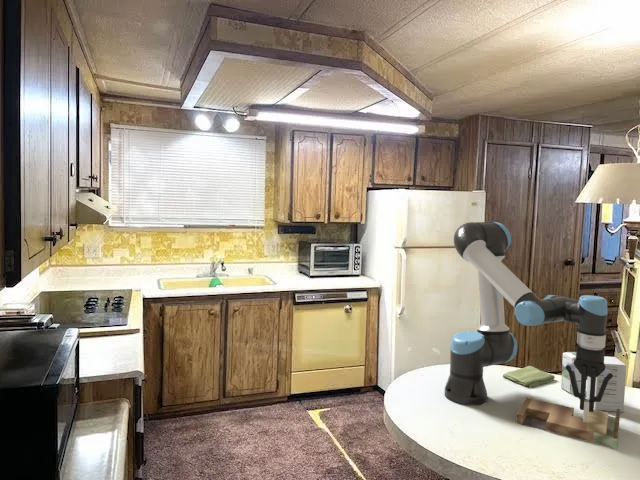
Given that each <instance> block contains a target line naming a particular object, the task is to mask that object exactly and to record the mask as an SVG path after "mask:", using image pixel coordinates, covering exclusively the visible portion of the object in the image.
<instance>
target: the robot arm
mask: <svg viewBox="0 0 640 480" xmlns="http://www.w3.org/2000/svg"><path fill="white" fill-rule="evenodd" d="M511 242H512V237H511V233H510V231H509V229H508V228H507V227H506V226H505V225H504V224H503V223H501V222H497V221H482V222H481V221H479V222H478V221H477V222H475V221H474V222H473V221H471V222H465V223H463V224H461V225H459V227H458V228H457V229H456V231H455V232H454V235H453V245H454V248H455V250H456V252H457V253H458V255H459V256H460V257H461V258H462V259H463V260H464V261H465V262H470V263H471V264H472V265H473V266H474V267H475V269H476V270H477V275H478V291H479V293H478V294H479V310H480V311H479V312H480V324H479V325H478V327H477V329H476V331H471V330H469V331H466V330H465V331H460V332H458V333H455V334H454V335H453V336H452V337H451V341H450V347H449V350H450V362H449V363H450V364H449V365H450V366H449V376H448V379H447V382H446V384H445V386H444V396H445V397H446V399H448V400H450V401H452V402H454V403H457V404H461V405H469V406H477V405H482V404H484V403H486V402H487V400H488V392H487V391H488V390H487V388H486V384H485V381H484V368H485V367H489V366H496V365H502V364H505V363H508V362H511V361H512V360H513V359H514V358H515V356H516V355H517V352H518V342H517V338H515V337H514V334H513V333H511V332H510V327H509V326H508V325H507V324H506V319H505V305H504V304H505V301H504V299H505V300H506V301H507V302H508V303H509V304H510V305H511V306H512V307H513V308H514V316H515V317H516V320H517V322H519V324H521V325H522V326H525V327H526V326H527V327H530V326H531V327H532V326H540V325H544V324H551V323H556V322H557V323H558V322H567V323H571V324H573V325H574V324H575V325H577V334H576V335H577V337H576V344H577V345H576V349H575V352H576V359H575V360H574V363H571V364H567V365H566V369H567V371H568V372H569V375H570V380H571V385H572V389H573V394H572V395H573V397H575V398H577V399H579V410H581V411H583V415H582V416H583V417H582V418H583V422H586V423H587V422H588V413H589V412H593V410H595V409H594V402H600V401H601V399H602V396H603V394H604V391H605V389H606V386H607V383H608V381H609V380H610V379H611V378H612V377H613V372H611V371H609V370H607V369H606V366H605V364H604V356H605V352H606V350H605V349H604V348H606V340H607V339H606V337H607V334H606V332H607V330H606V329H607V320H608V319H607V318H608V313H609V312H608V300H607V299H606V298H604V297H602V296H598V295H591V294H590V295H589V294H587V295H586V294H585V295H580V297H579V299H574V298H570V297H565V296H561V295H556V294H555V295H554V294H548V295H546V296H545V297H544V298H543V299H540V298H539V297H538V296H537V295H536V294H535V293H534V292H533V291H532V290H531V289H530V288H529V287H527V285H526V284H525V283H524V282H522V280H521V279H520V278H518V276H516V275H515V274H514V273H513V272H512V271H511V269H510V268H508V267H507V265H505V264H504V262H502V261H503V259H505V258H506V251H507V250H508V249H509V246H510V245H511ZM575 367H576V368H577V370H578V371H579V373H580V374H581V393H579V390H578V386H577V381H576V377H575V372H574V370H575ZM602 372H604V380H603V382H602V385H601V387H600V390H599V392H598V395H597V396H595V384H596V377H598V376H599V375H600V374H601V373H602ZM588 376H589V377H591V383H590V398H589V399H586V395H587V378H588Z"/></svg>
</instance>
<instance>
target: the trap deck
mask: <svg viewBox="0 0 640 480" xmlns="http://www.w3.org/2000/svg"><path fill="white" fill-rule="evenodd" d="M574 415H575V408H574V407H571V406H566V405H563V404H557V403H554V402H549V401H544V400H541V399H537V398H536V399H535V398H531V397H527V396H526V397H525V399H524V401H523V402H522V404H521V405H520V407H519V409H518V411H517V412H516V414H515V423H516V424H519V425H523V426H527V427H532V428H535V429H539V430H543V431H545V432H550V433H554V434H559V435H562V436H566V437H569V438H570V437H571V438H574V439H577V440H578V439H579V440H582V441H585V442H590V443H594V444H597V445H601V446H604V447H609V448H612V449H616V450H617V449H618V440H619V433H620V432H619V431H620V419H621V412H620V409H616V412H615V417H614V416H611V415H608V425H607V433H606V435H604V434H600V433H596V432H592V431H588V430H587V423H586V422H583V417H580V416H579V417H578V416H574Z"/></svg>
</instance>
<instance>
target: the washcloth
mask: <svg viewBox="0 0 640 480" xmlns="http://www.w3.org/2000/svg"><path fill="white" fill-rule="evenodd" d="M502 377H503V378H504V379H507V380H510V381H512V382H515V383H517V384H521V385H523V386H525V387H527V388H534V387H537V386H541V385H543V384H547V383H551V382H553V381H554V380H555V378H556V377H555V375H553V374H551V373H549V372H546V371H544V370H540V369H538V368H537V367H535V366H531V365H528V366H526V367H520V368H517V369H515V370H510V371H507V372H506V373H504V374H503V375H502Z"/></svg>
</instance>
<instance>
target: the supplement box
mask: <svg viewBox="0 0 640 480" xmlns="http://www.w3.org/2000/svg"><path fill="white" fill-rule="evenodd" d="M604 364H605V366H606V369H607V370H609V371H611V372H613V377H612V378H611V379H610V380H609V381H608V383H607V386H606V389H605V391H604V394H603V396H602V399H601V401H600V402H594V410H598V411H603V412H606V411H607V412H615V413H616V409H620V413H624V410H625V409H624V408H625V393H626V391H625V390H626V376H627V373H626V372H627V365H626V364H625V363H624V362H623V361H621V360H620V359H618V358H617V357H616V356H605V355H604ZM603 380H604V372H602V373H601V374H600V375H599V376H598V377H596V384H595V396H597V395H598V392H599V390H600V387H601V385H602V382H603ZM590 383H591V377H589V376H587V378H586V395H585V399H589V398H590Z"/></svg>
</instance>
